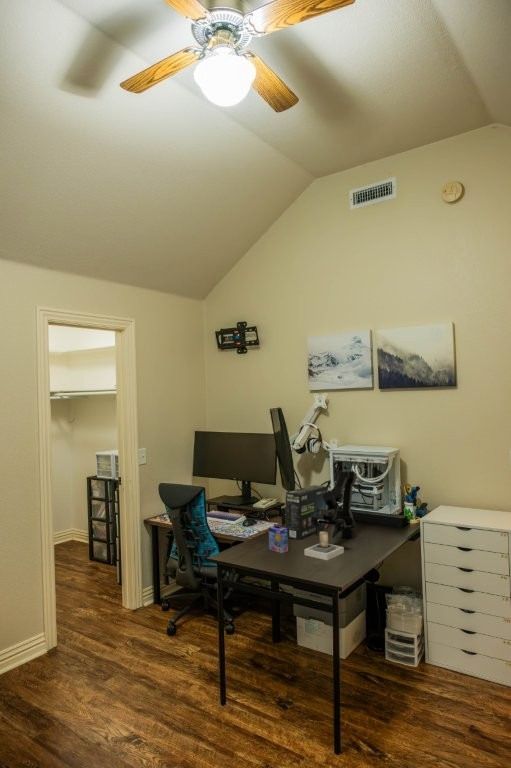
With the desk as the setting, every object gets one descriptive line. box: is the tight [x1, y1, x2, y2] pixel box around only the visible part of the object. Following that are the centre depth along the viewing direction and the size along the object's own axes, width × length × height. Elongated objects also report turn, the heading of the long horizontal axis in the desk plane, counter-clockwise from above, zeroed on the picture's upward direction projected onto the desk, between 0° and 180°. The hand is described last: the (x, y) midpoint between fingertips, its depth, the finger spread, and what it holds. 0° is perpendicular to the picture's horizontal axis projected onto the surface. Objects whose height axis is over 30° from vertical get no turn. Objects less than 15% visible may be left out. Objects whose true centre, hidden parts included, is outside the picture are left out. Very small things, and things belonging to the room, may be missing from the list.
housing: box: [304, 542, 345, 561], centre depth 252 cm, size 14×16×4 cm
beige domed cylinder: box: [319, 531, 329, 549], centre depth 252 cm, size 4×4×10 cm
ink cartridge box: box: [268, 523, 289, 554], centre depth 260 cm, size 10×6×14 cm, turn 45°
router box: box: [284, 484, 329, 540], centre depth 297 cm, size 36×11×27 cm, turn 144°
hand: (324, 536), depth 253 cm, fingers open, 9 cm apart
